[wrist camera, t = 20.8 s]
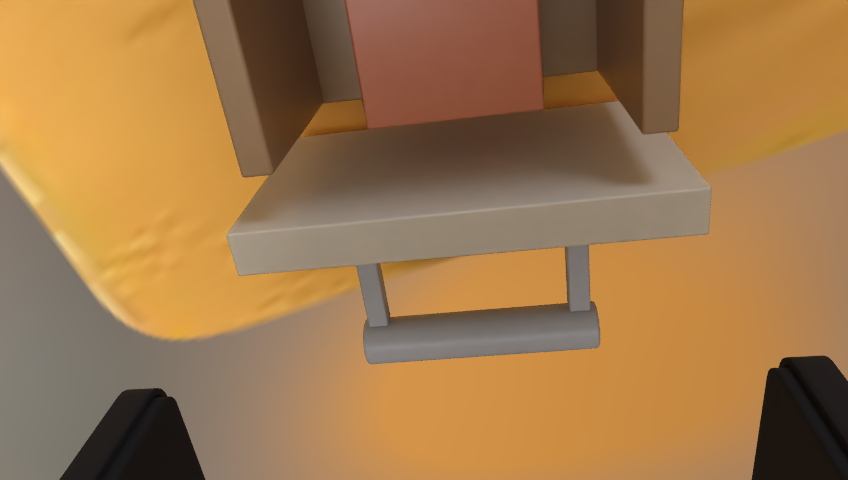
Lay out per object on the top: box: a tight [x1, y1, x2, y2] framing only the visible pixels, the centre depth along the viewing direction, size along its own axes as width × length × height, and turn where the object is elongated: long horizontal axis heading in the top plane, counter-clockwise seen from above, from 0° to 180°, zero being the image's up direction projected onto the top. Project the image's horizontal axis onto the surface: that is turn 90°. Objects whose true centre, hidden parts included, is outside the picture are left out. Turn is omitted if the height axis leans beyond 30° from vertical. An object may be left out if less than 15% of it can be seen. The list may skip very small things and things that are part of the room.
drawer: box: [193, 0, 711, 364], centre depth 17 cm, size 18×11×7 cm, turn 8°
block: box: [344, 0, 545, 129], centre depth 17 cm, size 4×4×4 cm
